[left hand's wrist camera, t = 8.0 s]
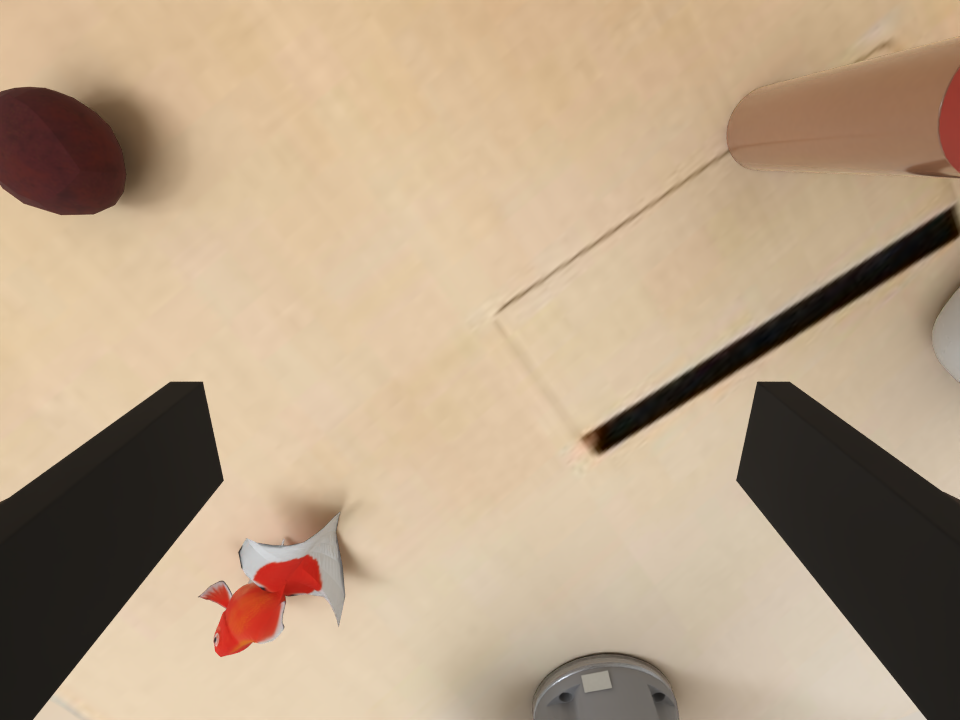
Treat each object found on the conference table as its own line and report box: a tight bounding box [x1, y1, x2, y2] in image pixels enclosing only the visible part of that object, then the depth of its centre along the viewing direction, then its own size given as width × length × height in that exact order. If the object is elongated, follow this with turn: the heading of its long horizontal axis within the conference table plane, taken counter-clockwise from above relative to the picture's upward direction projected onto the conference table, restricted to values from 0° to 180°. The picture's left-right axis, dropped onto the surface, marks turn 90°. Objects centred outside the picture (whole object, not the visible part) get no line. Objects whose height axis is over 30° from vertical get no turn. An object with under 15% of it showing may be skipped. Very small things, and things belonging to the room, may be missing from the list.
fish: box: [199, 512, 345, 657], centre depth 45 cm, size 11×16×10 cm
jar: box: [727, 36, 960, 178], centre depth 27 cm, size 5×5×20 cm
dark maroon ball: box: [0, 87, 126, 215], centre depth 33 cm, size 7×8×7 cm
